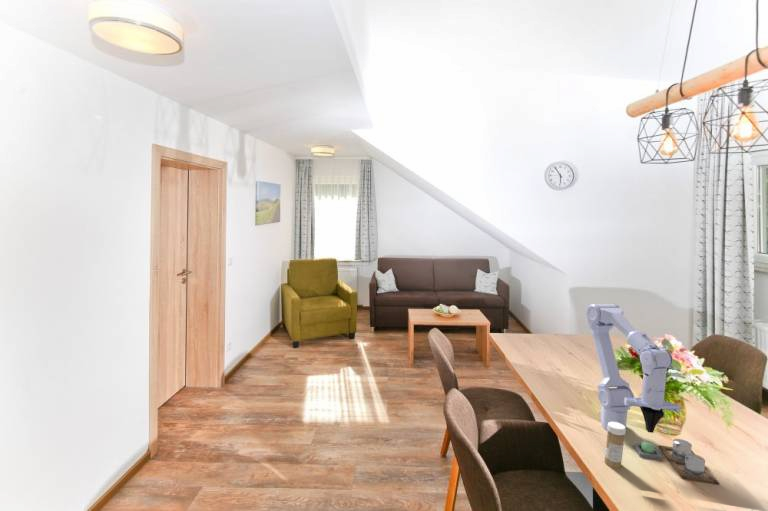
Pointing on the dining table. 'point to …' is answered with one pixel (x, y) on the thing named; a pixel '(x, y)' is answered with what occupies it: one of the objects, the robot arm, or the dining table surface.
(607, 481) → the dining table surface
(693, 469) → the cylinder
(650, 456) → the grey square frame
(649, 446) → the button
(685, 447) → the seated billet
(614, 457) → the sprinkles bottle
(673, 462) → the pallet
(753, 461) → the dining table surface
